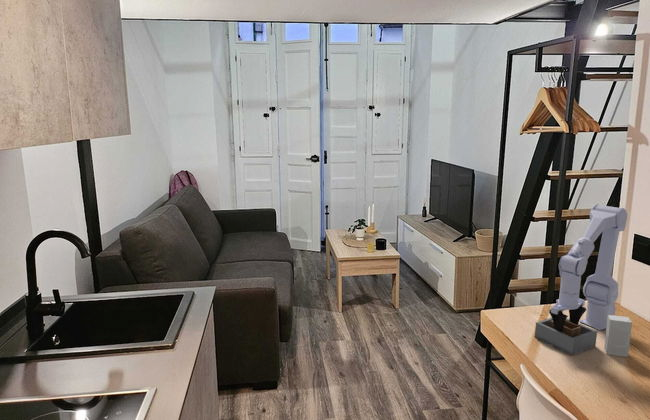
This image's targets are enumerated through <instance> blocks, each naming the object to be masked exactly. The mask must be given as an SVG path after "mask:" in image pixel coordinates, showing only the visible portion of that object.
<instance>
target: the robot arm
mask: <svg viewBox="0 0 650 420" xmlns="http://www.w3.org/2000/svg"><path fill="white" fill-rule="evenodd" d="M627 220H628V212H627V210H626V209H625V207H616V206H615V207H614V206H608V205H602V204H599V203H595V204H594V205H592V207H591V208H590V211H589V223H588V226H587V228H586V230H585V231H584V234H583V236H582V237H579V238H577V239H576V241H575V242H574V244H573V245H572V247H571V248H570V250H569V251H568V253H567V254H566V255H565V254H564V255H563V256H561V257H560V259H559V263H558V270H559V276H560V285H559V287H560V288H559V297H558V299H556V303H555V304H554V305H553V306H551V308H550V309H549V310H548V311H549V315H550V318H552V319H553V323H554V328H555V330H557V331H559V332H561V333H562V331H563V326H564V322H565V320H566V318H567V319H569V322H571V323H574V324H576V325H578V323H579V322H580V323H581V324H584V325H585V326H589V327H592V328H593V329H596V330H598V331H602V330H606V327H607V318H608V315H613V316H616V304H615V303H616V301H617V300H618V297H619V283H618V282H617V281H616V279H615V278H614V277H613V276H612V272H613V266H614V261H615V256H616V251H617V246H618V240H619V235H620V232H623V231H625V228H626V225H627ZM601 234H602V235H601ZM600 235H601V240H600V245H599V250H598V256H597V261H596V268H595V272H594V274H591V275H589V276H587V277H586V281H585V283H584V285H583V288H582V292H583V293H582V294H583V295H584V297H585V299H582V298H580V291H581V284H582V283H581V281H582V275H583V274H584V273H585V272H586V268H587V265H588V259H589V257H590V256H591V254H592V253H593V251H594V250H595V244H594V242H595V241H596V240H597V239H598V237H599V236H600ZM586 300H587V304H586ZM585 304H586V307H585ZM564 311H568V314H569V315H567V314H564ZM584 313H585V318H583V319H581V318H582V316H583V315H584ZM568 317H569V318H568ZM580 323H579V324H580Z"/></svg>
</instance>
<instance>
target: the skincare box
mask: <svg viewBox="0 0 650 420" xmlns="http://www.w3.org/2000/svg"><path fill="white" fill-rule="evenodd" d="M632 326H633V322H632V320H631V319H630V317H629V316H623V315H622V316H620V315H615V316H613V315H608V318H607V327H606V329H605V331H606V332H605V337H604V348H603V349H604V352H605V354H606V355H609V356H616V357H624V358H625V357H626V358H627V357H629V352H630V344H631V335H632Z"/></svg>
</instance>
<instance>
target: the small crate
mask: <svg viewBox="0 0 650 420" xmlns="http://www.w3.org/2000/svg"><path fill="white" fill-rule="evenodd" d="M550 328H553V329H555V328H554V323H553V320H551V321H550ZM581 329H582V327H581V326H578V325H576V324H574V323H571V322H569V321H567V320H565V322H564V326H563V331H562V333H564V334H566V335H568V336H570V337H572V338H573V337H576V336H579V335H581Z"/></svg>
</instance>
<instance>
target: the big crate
mask: <svg viewBox="0 0 650 420" xmlns="http://www.w3.org/2000/svg"><path fill="white" fill-rule="evenodd" d="M551 320H553V319H552V317H549V318H546V319H542V320H540V321H536V322H535V330H534V338H535V339H537V340H539V341H542V342H543V343H546V344H547V345H550V346H552V347H553V348H555V349H558V350H559V351H562V352H564V353H565V354H568V355H570V356H575V355H577V354H579V353H582V352H584V351H587V350H591V349H593V348H594V347H596V345H597V337H598V331H597V329H596V330H595V329H594V328H590V327H588V326H587V325H585V324H584V325H583V324H582V323H578V326H581V327H582V329H581V335H579V336H576V337H573V338H572V337H570V336H568V335H566V334H564V333H561V332H559V331H557V330H555V329H553V328H550V321H551ZM566 320H567V321H569V318H568V317H567V318H566Z"/></svg>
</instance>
